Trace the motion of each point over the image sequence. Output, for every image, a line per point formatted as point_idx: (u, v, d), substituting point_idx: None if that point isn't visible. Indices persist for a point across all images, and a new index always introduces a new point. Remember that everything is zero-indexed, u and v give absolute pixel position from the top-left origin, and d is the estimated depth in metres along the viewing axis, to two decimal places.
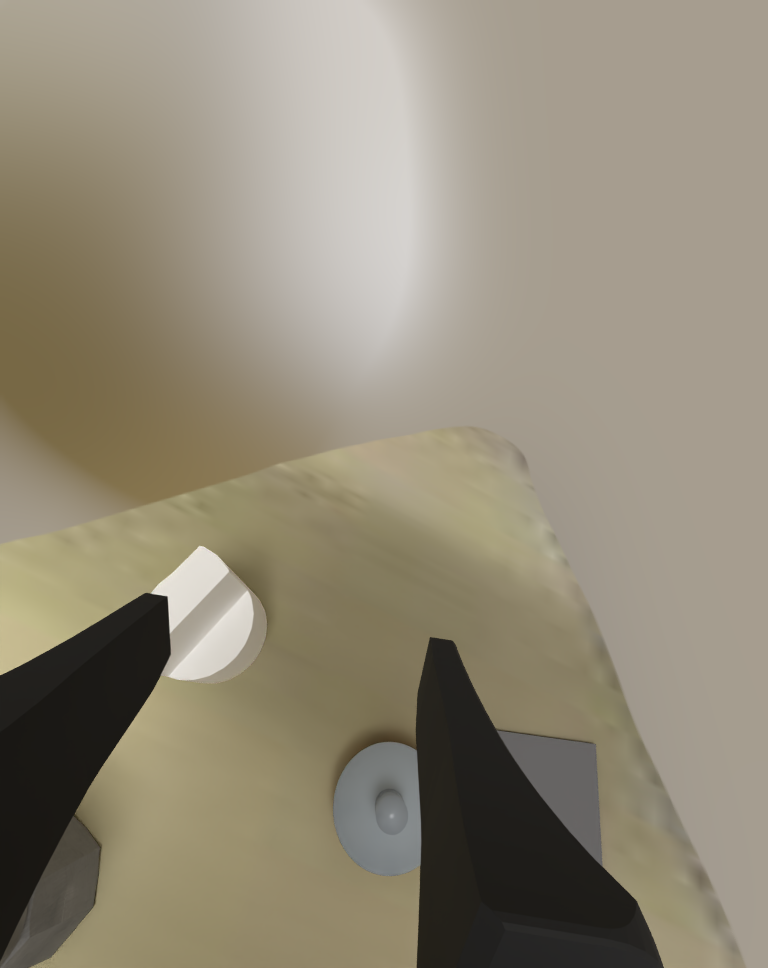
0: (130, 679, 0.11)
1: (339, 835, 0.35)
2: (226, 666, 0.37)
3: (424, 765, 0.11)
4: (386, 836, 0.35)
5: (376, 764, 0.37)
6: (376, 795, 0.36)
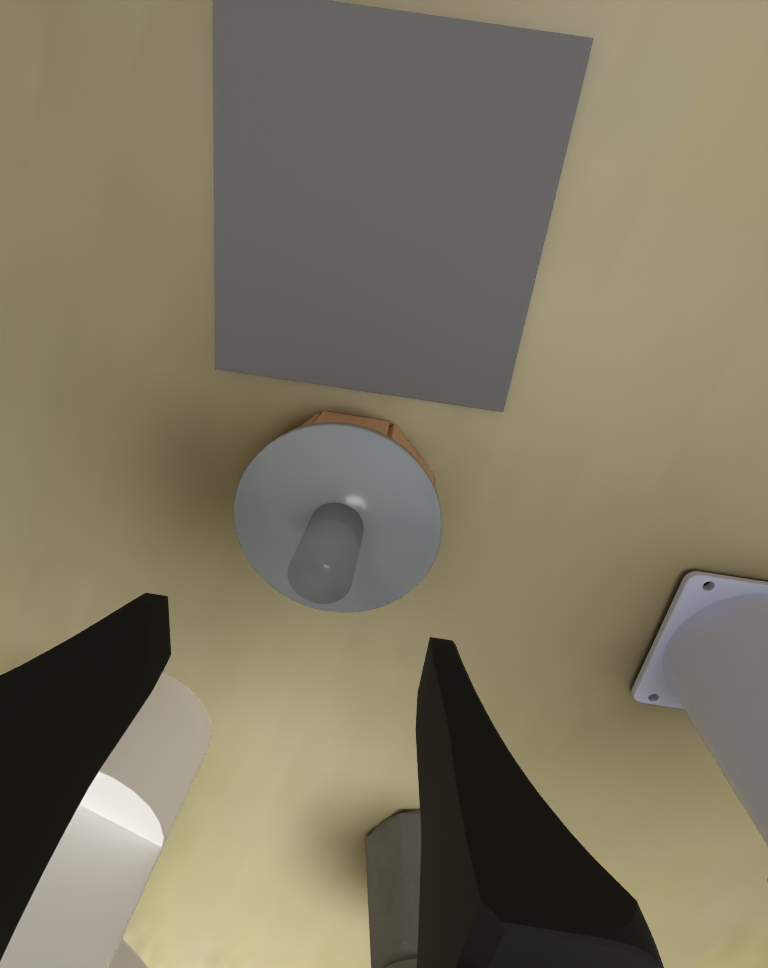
0: (130, 679, 0.11)
1: (380, 604, 0.21)
2: (133, 784, 0.22)
3: (424, 765, 0.11)
4: (383, 534, 0.19)
5: (273, 545, 0.20)
6: None
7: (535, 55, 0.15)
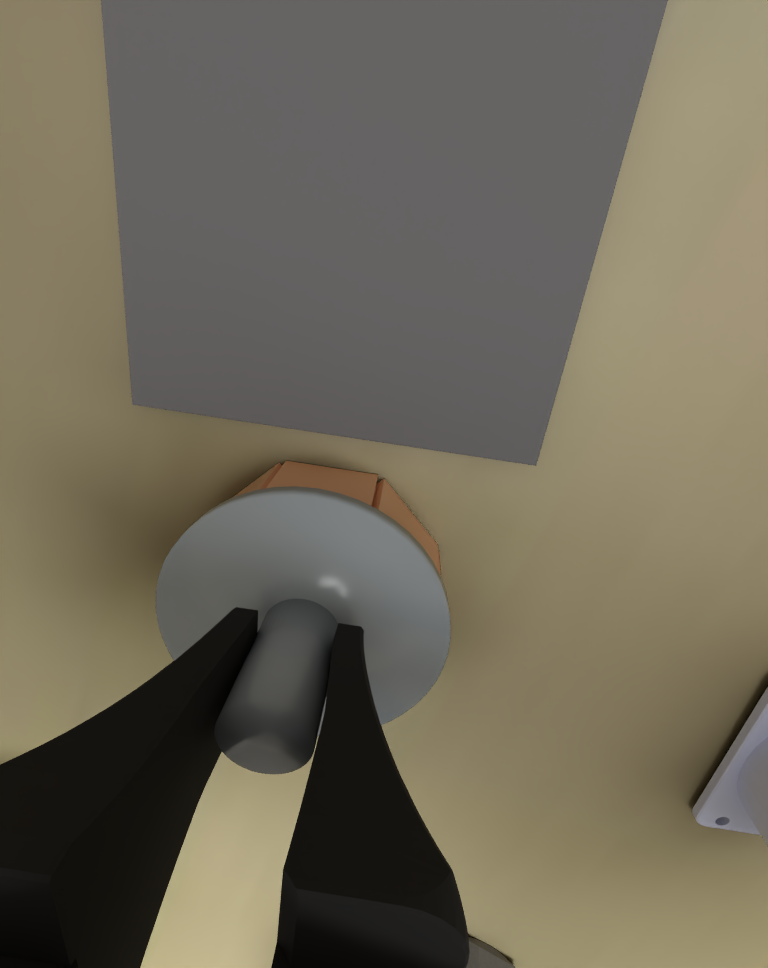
0: None
1: None
2: None
3: None
4: (367, 640, 0.14)
5: None
6: None
7: None
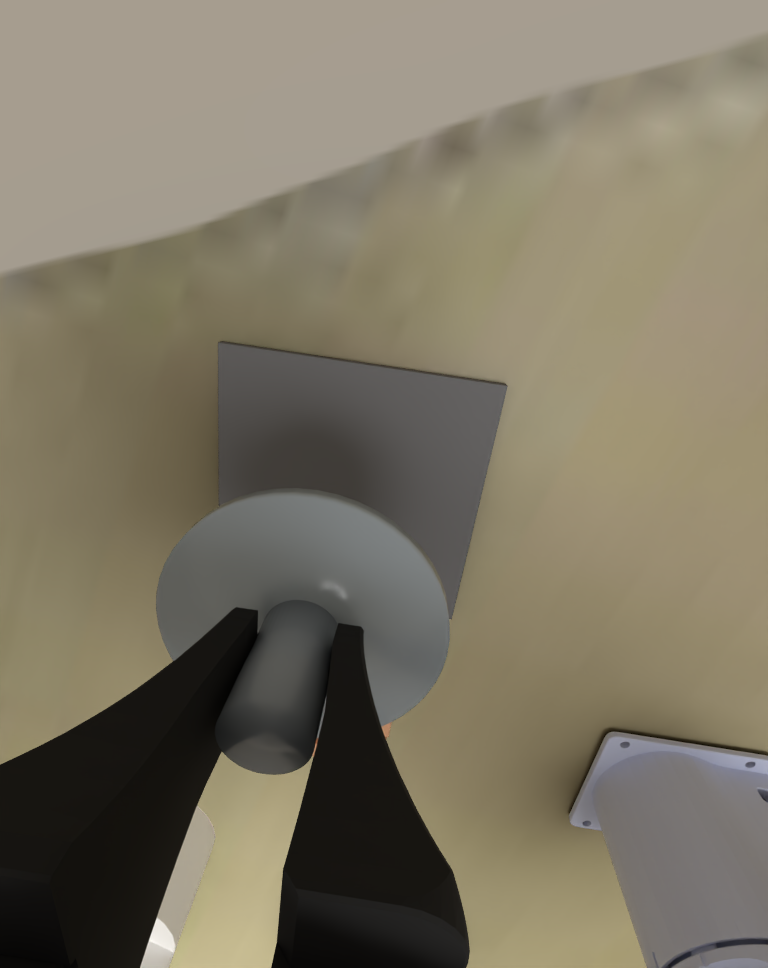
0: None
1: None
2: None
3: None
4: (367, 642, 0.14)
5: None
6: None
7: (464, 394, 0.20)
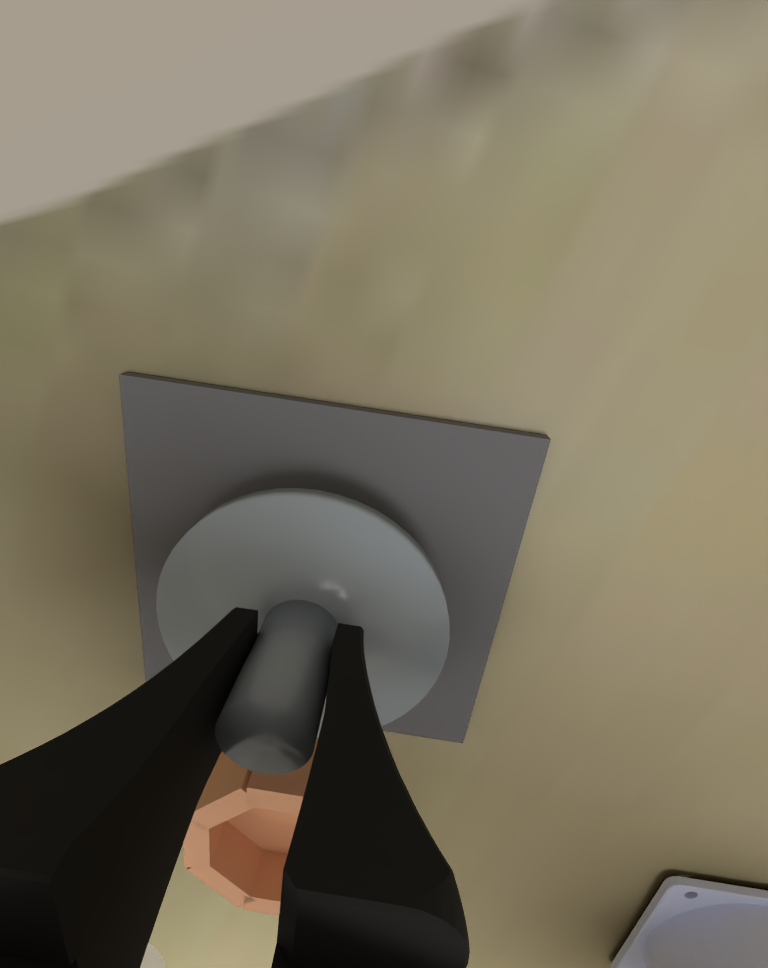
0: None
1: None
2: None
3: None
4: (367, 641, 0.14)
5: None
6: None
7: (485, 451, 0.13)
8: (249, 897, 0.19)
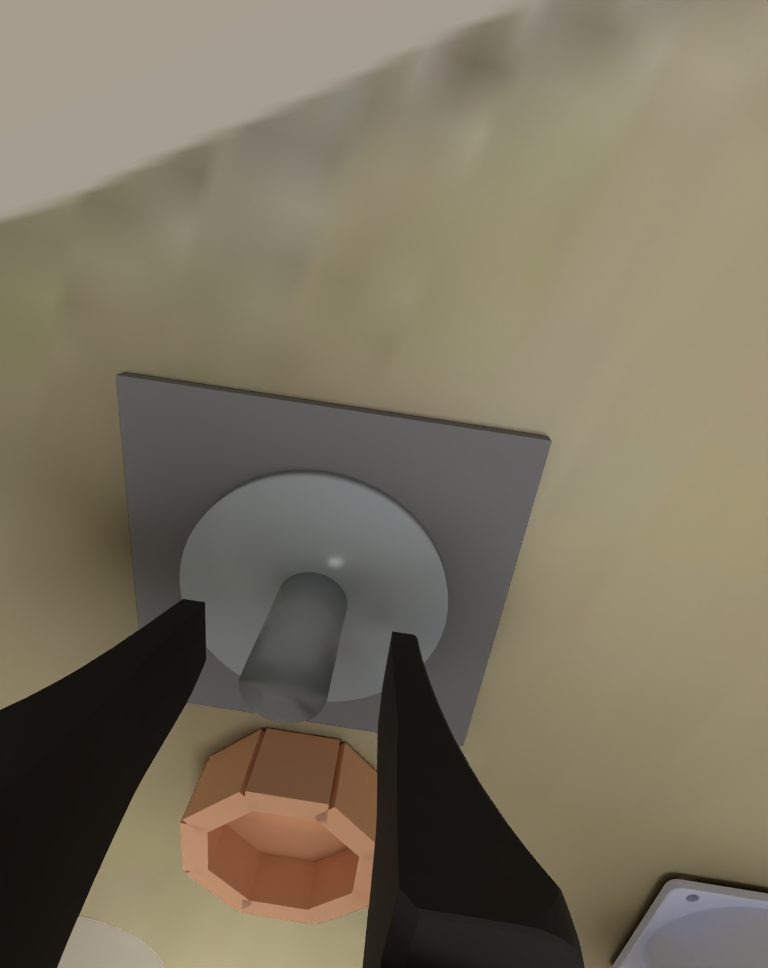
0: (171, 686, 0.11)
1: (369, 693, 0.16)
2: None
3: (381, 758, 0.11)
4: (372, 611, 0.15)
5: (232, 622, 0.15)
6: None
7: (485, 452, 0.13)
8: (248, 901, 0.19)
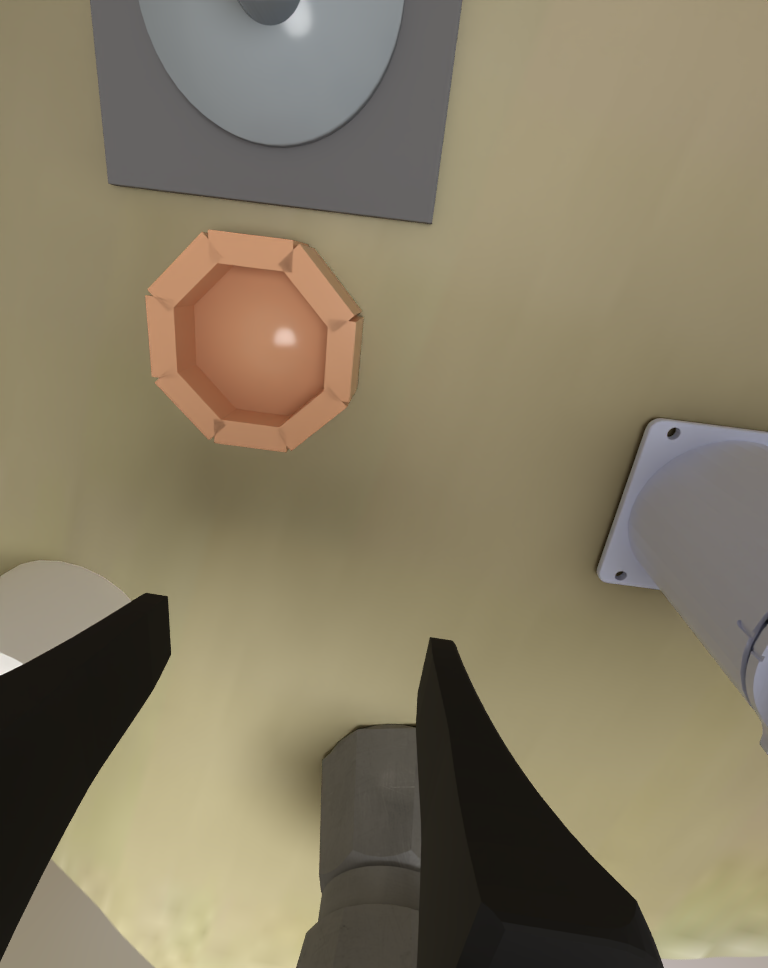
0: (130, 679, 0.11)
1: (332, 122, 0.16)
2: None
3: (424, 765, 0.11)
4: None
5: (188, 24, 0.15)
6: (250, 20, 0.15)
7: None
8: (220, 421, 0.19)
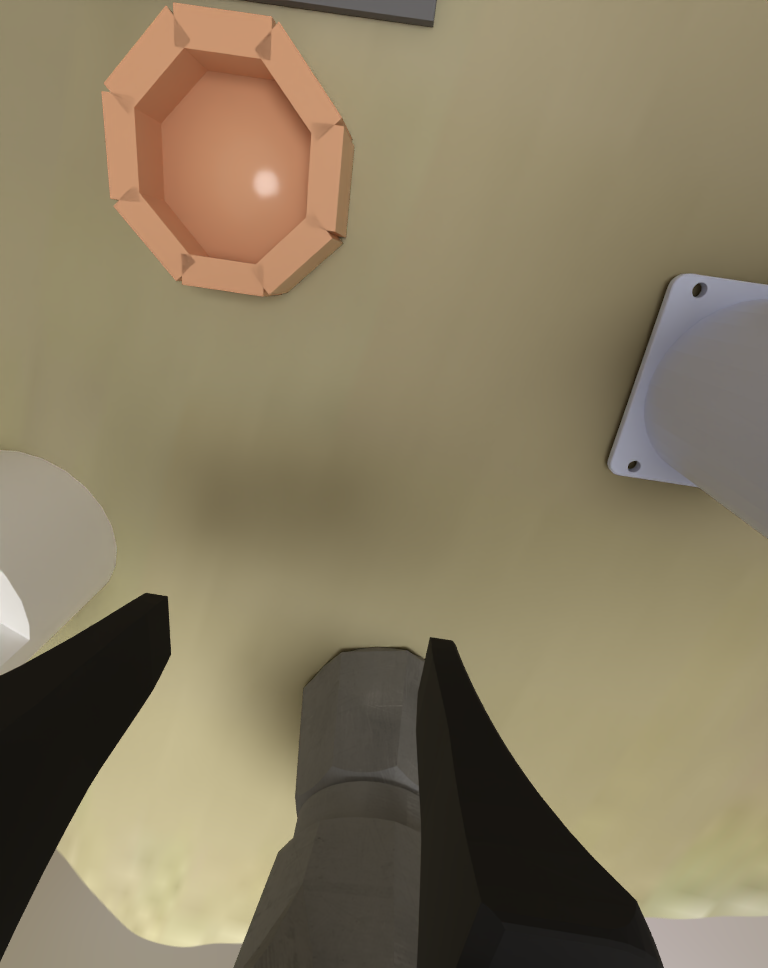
0: (130, 679, 0.11)
1: None
2: None
3: (424, 765, 0.11)
4: None
5: None
6: None
7: None
8: (188, 256, 0.16)
